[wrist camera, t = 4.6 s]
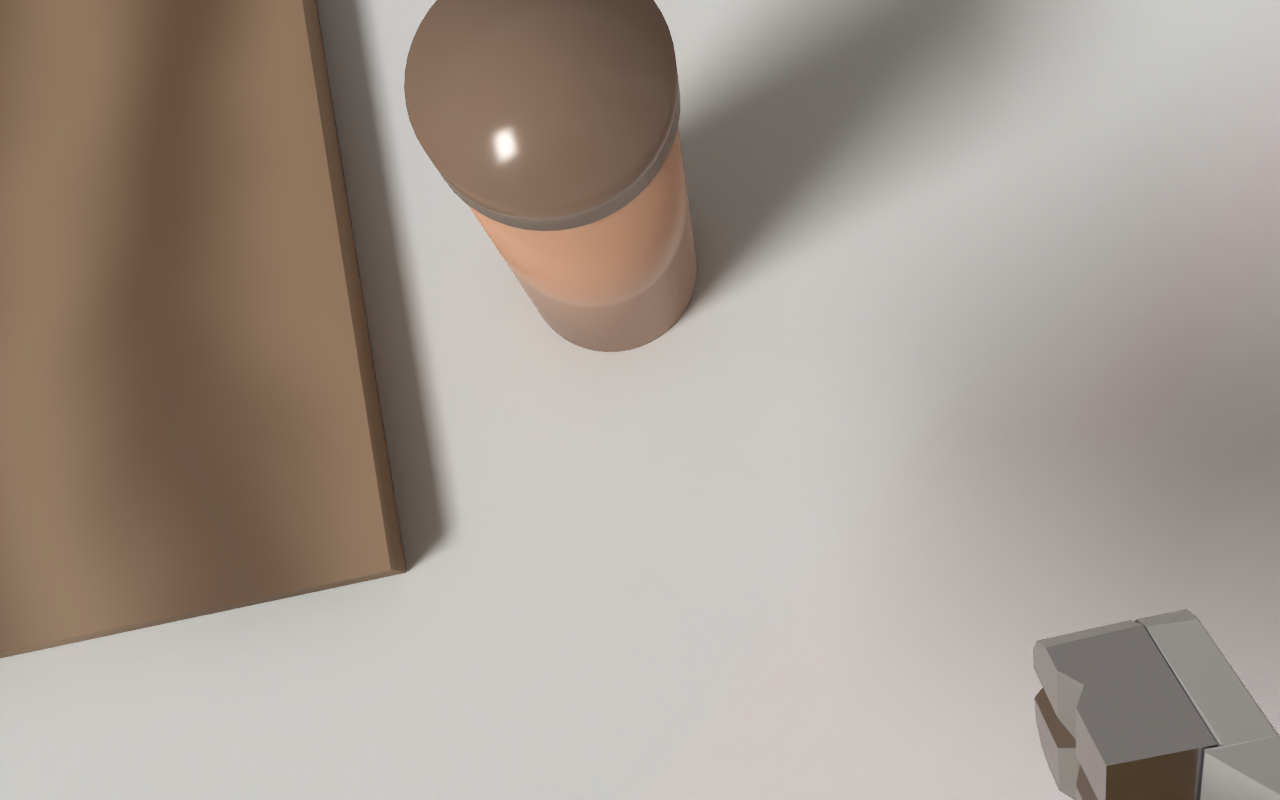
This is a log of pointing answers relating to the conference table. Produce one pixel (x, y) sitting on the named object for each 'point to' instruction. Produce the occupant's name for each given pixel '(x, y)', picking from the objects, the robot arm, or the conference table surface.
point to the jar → (565, 154)
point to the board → (177, 321)
